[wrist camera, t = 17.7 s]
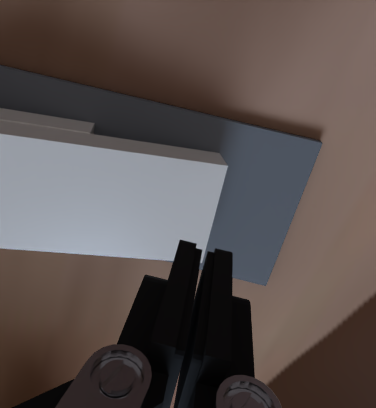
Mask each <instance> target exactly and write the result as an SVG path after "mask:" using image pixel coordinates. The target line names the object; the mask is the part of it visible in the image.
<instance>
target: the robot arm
mask: <svg viewBox="0 0 376 408" xmlns="http://www.w3.org/2000/svg"><path fill="white" fill-rule="evenodd" d="M196 245H197V244H196V243H192V242H188V241H184V240H180V241H179V244H178V248H177V251H176V254H175V258H174V261H173V265H172V268H171V271H170V275H169V278H168V280H165V279H161V278H157V277H153V276H149V275H145V276H144V278H143V281H142V283H141V286H140V288H139V291H138V293H137V295H136V298H135V300H134V303H133V305H132V308H131V310H130V313H129V315H128V318H127V320H126V323H125V325H124V328H123V330H122V333H121V335H120V338H119V340H118V343H117V344H114V345H109V346H106V347H103V348H101V349H99V350H98V351H96V352H94V353H93V355H92V356H91V357H90V358H89V359H88V360H87V361H86V363H85V364H84V366H83V367H82V369H81V370H80V372H79V373H78V375H77V376H76V378H75V379H73V380H71V381H69V382H67V383H65V384H62V385H60V386H58V387H56V388H54V389H52V390H49V391H47V392H45V393H43V394H41V395H39V396H36V397H34V398H32V399H30V400H28V401H26V402H23V403H21V404H19V405H17V406H15V407H13V408H170V405H171V401H172V397H173V394H174V390H175V387H176V383H177V379H178V376H179V380H178V386H177V392H176V398H175V403H174V408H282V407H281V405H280V402H279V400H278V398H277V397H276V395H275V394H274V393H273V391H272V390H271V389H270V388H269V387H268V386H266V385H265V384H264V383H263V382H261V381H259V380H257V379H256V378H255V375H254V358H253V341H252V323H251V306H250V301H249V300H247V299H243V298H238V297H234V296H232V272H233V253H232V252H230V251H225V250H221V249H217V248H215V250H214V252H210V251H207V255H206V258H205V262H204V266H203V269H202V273H201V277H200V281H199V284H198V288H197V292H196V295H195V291H196V285H197V279H198V273H199V267H200V261H201V255H202V249H197V248H196ZM194 297H195V299H194ZM179 372H180V374H179Z"/></svg>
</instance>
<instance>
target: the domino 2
mask: <svg viewBox="0 0 376 408" xmlns="http://www.w3.org/2000/svg"><path fill="white" fill-rule="evenodd" d="M227 168H228V165H227V164H226V162H225V161H224V159H223V158H222V156H221V155H220V153H216V152H209V151H203V150H196V149H189V148H183V147H176V146H169V145H162V144H156V143H149V142H142V141H136V140H129V139H122V138H116V137H109V136H102V135H95V134H89V133H82V132H75V131H69V130H62V129H55V128H49V127H42V126H35V125H28V124H22V123H15V122H8V121H2V120H0V248H4V249H17V250H31V251H44V252H58V253H71V254H85V255H99V256H112V257H126V258H139V259H153V260H167V261H174V258H175V254H176V251H177V248H178V244H179V241H180V240H184V241H188V242H192V243H196V244H197V245H196V248H197V249H202V255H201V261H200V263H202V262H203V258H204V254H205V250H206V247H207V243H208V239H209V235H210V232H211V228H212V224H213V220H214V217H215V213H216V209H217V205H218V202H219V198H220V194H221V190H222V187H223V183H224V179H225V175H226V172H227Z"/></svg>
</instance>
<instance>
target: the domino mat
mask: <svg viewBox="0 0 376 408" xmlns="http://www.w3.org/2000/svg"><path fill="white" fill-rule="evenodd" d="M0 108H4V109H10V110H16V111H22V112H29V113H35V114H41V115H47V116H54V117H60V118H66V119H72V120H79V121H85V122H91V123H95V124H94V134H95V135H102V136H109V137H116V138H122V139H129V140H136V141H142V142H149V143H156V144H162V145H169V146H176V147H183V148H189V149H196V150H203V151H209V152H216V153H220V155H221V156H222V158H223V159H224V161H225V162H226V164H227V165H228V168H227V172H226V175H225V179H224V183H223V187H222V190H221V194H220V198H219V202H218V205H217V209H216V213H215V217H214V220H213V224H212V228H211V232H210V235H209V239H208V243H207V247H206V250H205V254H204V258H203V262H202V263H200V267H199V269H201V270H202V269H203V266H204V262H205V258H206V255H207V251H210V252H214V250H215V248H217V249H221V250H225V251H230V252H232V253H233V272H232V278H236V279H240V280H244V281H248V282H252V283H256V284H260V285H264V286H266V284H267V282H268V279H269V277H270V274H271V272H272V269H273V267H274V264H275V262H276V259H277V257H278V254H279V252H280V249H281V246H282V244H283V241H284V239H285V236H286V234H287V231H288V229H289V226H290V224H291V221H292V219H293V216H294V214H295V211H296V209H297V206H298V204H299V201H300V199H301V196H302V194H303V191H304V189H305V186H306V184H307V181H308V178H309V176H310V173H311V171H312V168H313V166H314V163H315V161H316V158H317V156H318V153H319V151H320V148H321V146H322V142H321V141H319V140H315V139H311V138H307V137H302V136H298V135H294V134H290V133H285V132H281V131H277V130H273V129H269V128H264V127H260V126H256V125H252V124H248V123H243V122H239V121H235V120H231V119H226V118H222V117H218V116H214V115H210V114H205V113H201V112H197V111H193V110H188V109H184V108H180V107H176V106H172V105H167V104H163V103H159V102H155V101H151V100H146V99H142V98H138V97H134V96H129V95H125V94H121V93H117V92H113V91H108V90H104V89H100V88H96V87H92V86H87V85H83V84H79V83H75V82H70V81H66V80H62V79H58V78H54V77H49V76H45V75H41V74H37V73H33V72H28V71H24V70H20V69H16V68H11V67H7V66H3V65H0ZM165 261H167V260H165ZM169 262H173V261H169Z"/></svg>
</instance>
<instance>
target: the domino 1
mask: <svg viewBox="0 0 376 408" xmlns="http://www.w3.org/2000/svg"><path fill="white" fill-rule="evenodd" d="M0 120H2V121H8V122H15V123H22V124H28V125H35V126H42V127H49V128H55V129H62V130H69V131H75V132H82V133H89V134H94V124H95V123H91V122H85V121H79V120H72V119H66V118H60V117H54V116H47V115H41V114H35V113H29V112H22V111H16V110H10V109H4V108H0Z"/></svg>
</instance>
